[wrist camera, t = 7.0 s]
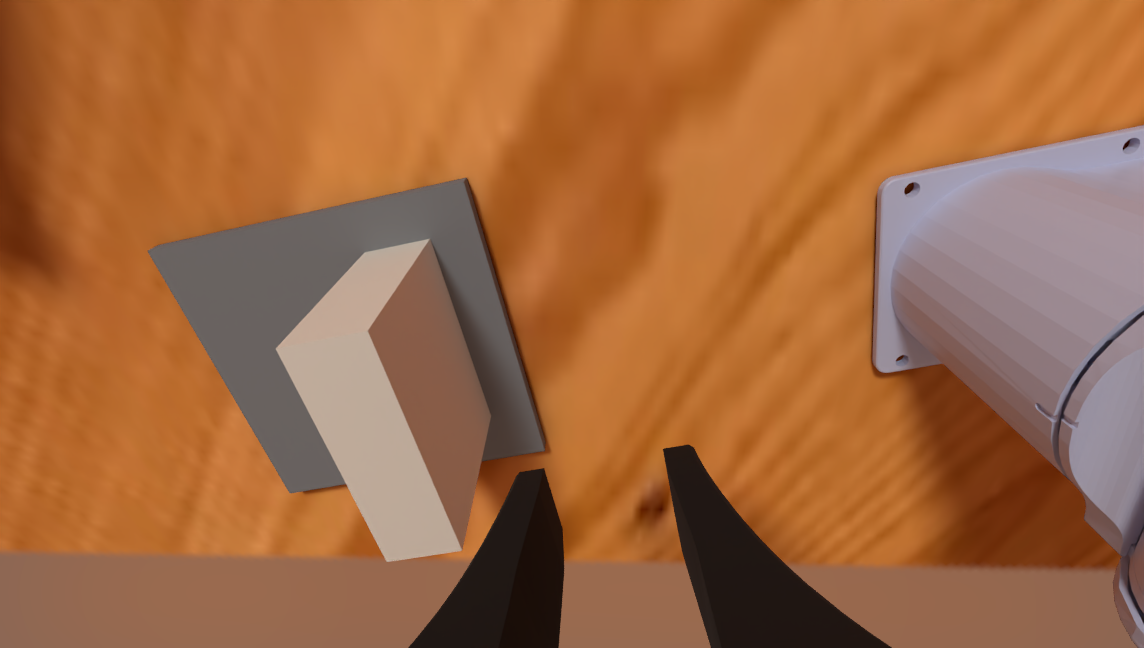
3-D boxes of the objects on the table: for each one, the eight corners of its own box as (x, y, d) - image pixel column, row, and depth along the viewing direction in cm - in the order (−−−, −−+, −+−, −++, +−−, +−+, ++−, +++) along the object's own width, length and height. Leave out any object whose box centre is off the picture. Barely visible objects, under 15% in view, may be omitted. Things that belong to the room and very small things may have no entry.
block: (430, 238, 21) (367, 330, 14) (491, 416, 24) (462, 550, 18) (364, 252, 21) (275, 349, 15) (434, 425, 24) (386, 561, 18)
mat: (466, 177, 20) (463, 181, 20) (545, 441, 26) (544, 450, 25) (158, 245, 21) (147, 250, 21) (295, 483, 27) (289, 493, 26)
